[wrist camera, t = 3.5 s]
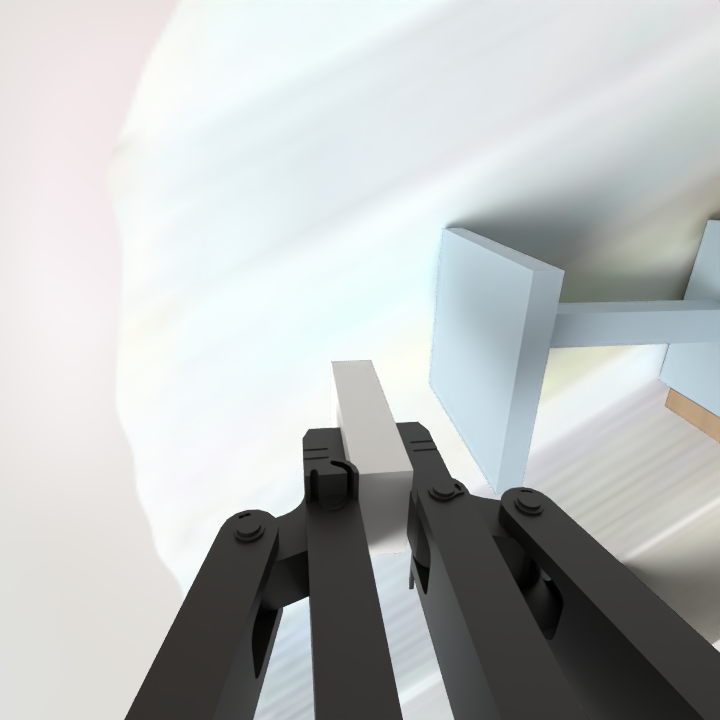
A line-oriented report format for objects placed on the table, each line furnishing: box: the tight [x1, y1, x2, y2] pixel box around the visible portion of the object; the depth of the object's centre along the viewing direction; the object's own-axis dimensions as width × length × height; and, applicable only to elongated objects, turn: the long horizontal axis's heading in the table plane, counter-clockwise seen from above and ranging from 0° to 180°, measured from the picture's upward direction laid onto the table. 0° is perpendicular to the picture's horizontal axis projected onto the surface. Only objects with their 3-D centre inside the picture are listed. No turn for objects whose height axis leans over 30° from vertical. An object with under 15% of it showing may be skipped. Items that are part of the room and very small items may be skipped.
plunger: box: [429, 220, 720, 495], centre depth 25 cm, size 18×11×11 cm, turn 89°
